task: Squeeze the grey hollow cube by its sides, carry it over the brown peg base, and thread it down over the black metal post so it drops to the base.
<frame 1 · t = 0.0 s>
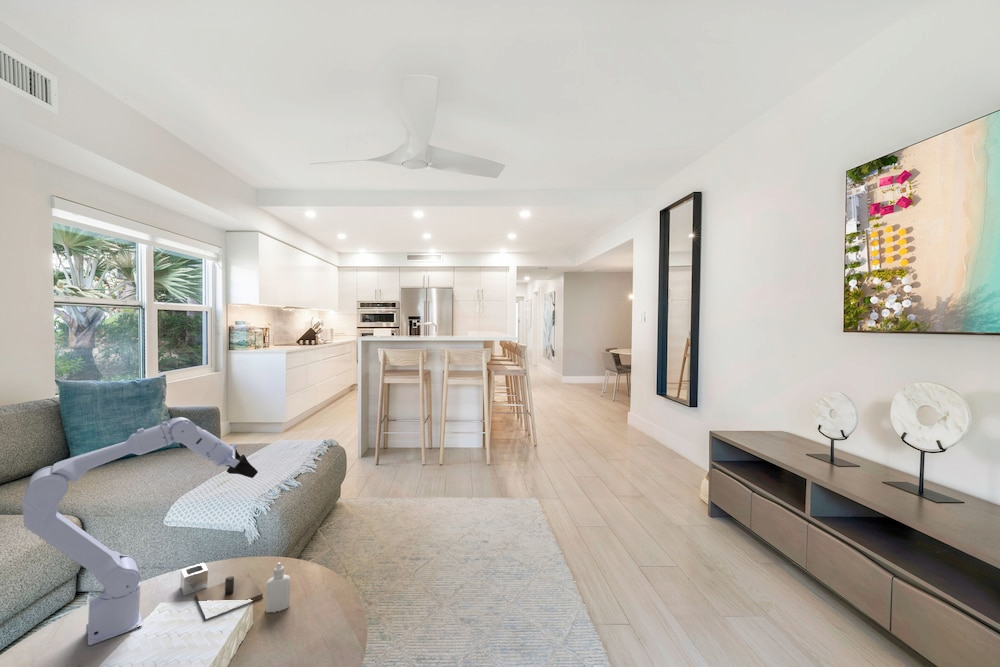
hand: (251, 471, 121), 32 cm above the table, tool tilted 50°, fingers open, 7 cm apart
eye dropper bottle: (277, 609, 109), on the table
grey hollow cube: (193, 587, 117), on the table
brown peg base: (229, 597, 113), on the table
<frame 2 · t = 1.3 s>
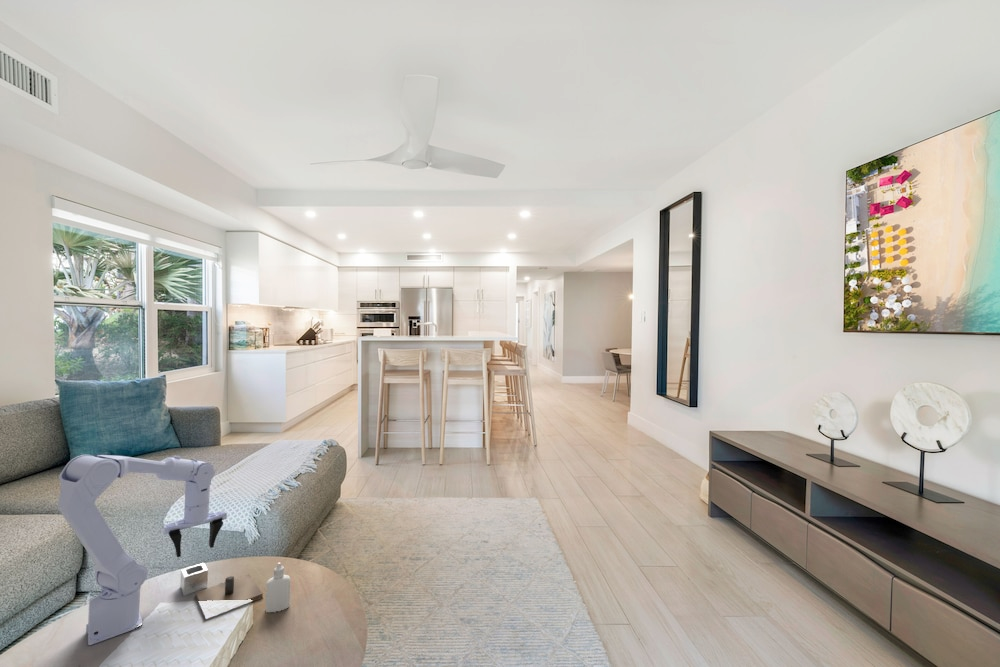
hand: (195, 551, 118), 10 cm above the table, tool pointing down, fingers open, 7 cm apart
nothing on the table moved.
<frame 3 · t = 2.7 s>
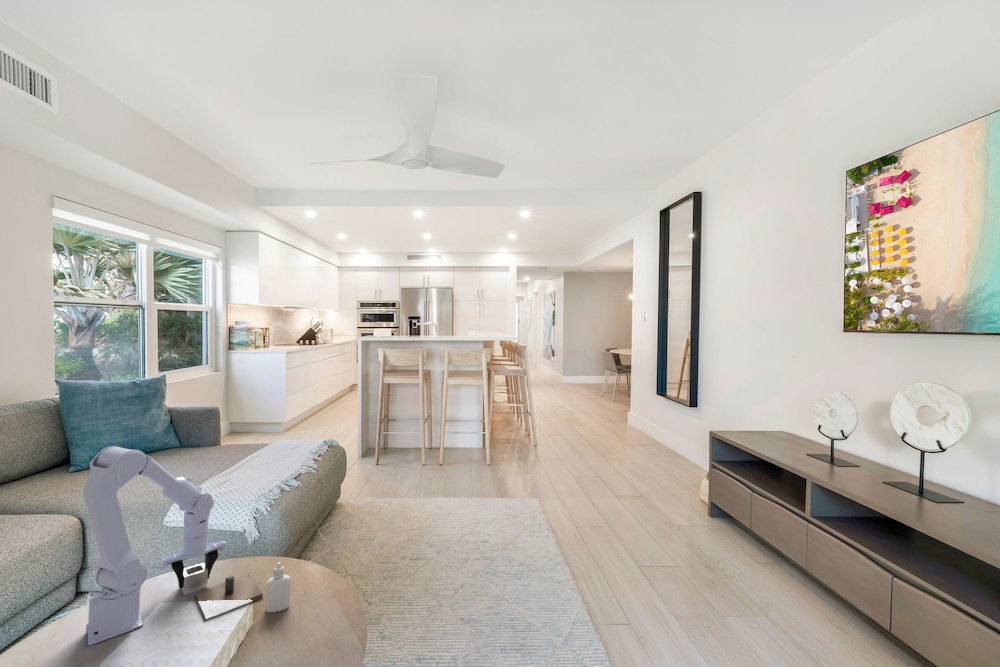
hand: (194, 582, 117), 1 cm above the table, tool pointing down, fingers closed on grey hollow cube, 5 cm apart
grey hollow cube: (193, 587, 117), on the table, touching gripper
everything else where it was.
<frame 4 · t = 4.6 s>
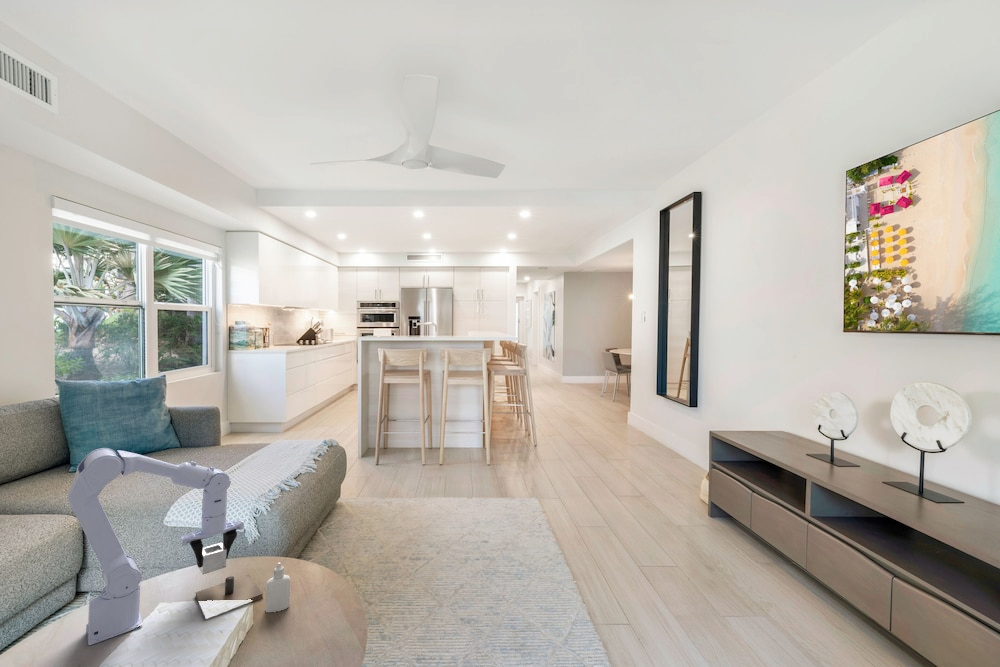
hand: (212, 561, 116), 8 cm above the table, tool pointing down, fingers closed on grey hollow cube, 5 cm apart
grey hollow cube: (212, 566, 116), point 7 cm above the table, touching gripper
everything else where it was.
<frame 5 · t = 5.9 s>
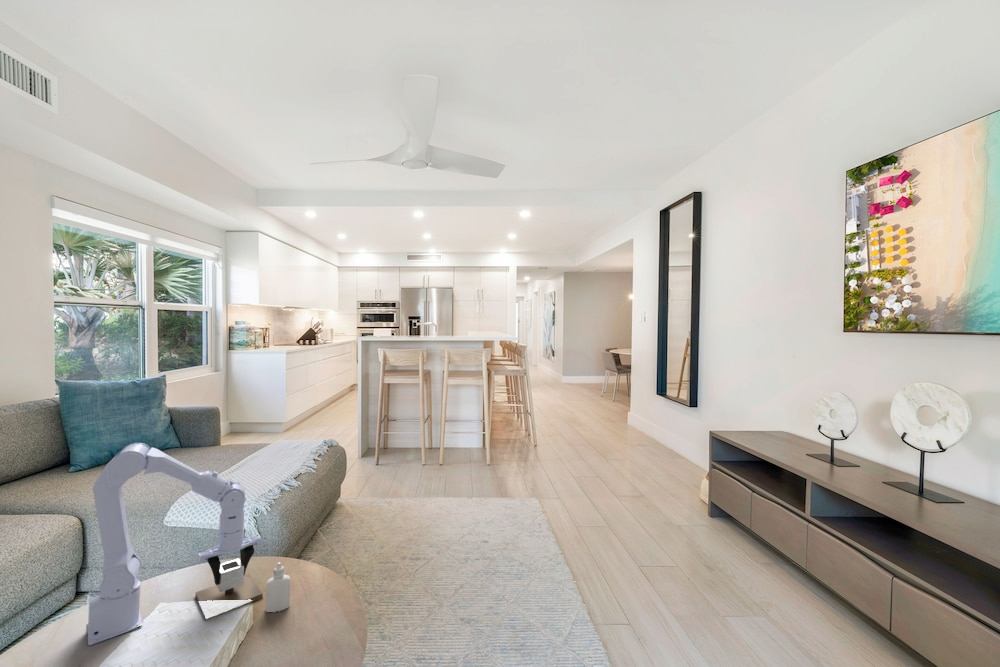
hand: (229, 578, 113), 5 cm above the table, tool pointing down, fingers closed on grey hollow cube, 5 cm apart
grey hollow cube: (229, 583, 114), point 4 cm above the table, touching gripper
everything else where it was.
when the fingers open (4 cm above the table, at t = 6.7 s): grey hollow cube drops 1 cm, resting on brown peg base.
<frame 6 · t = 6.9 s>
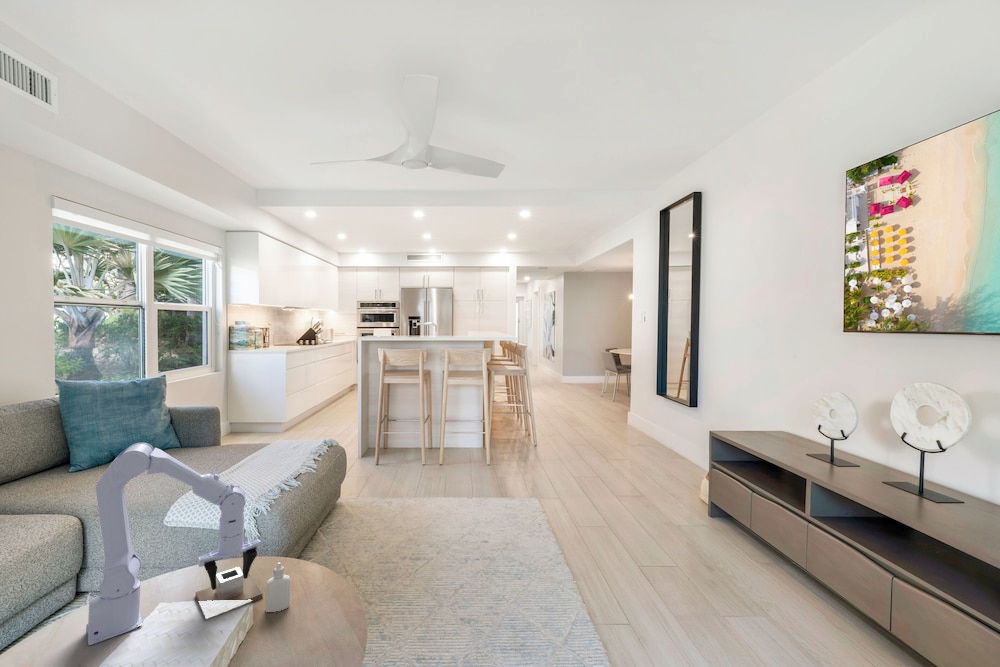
hand: (229, 582, 113), 4 cm above the table, tool pointing down, fingers open, 7 cm apart
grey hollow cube: (229, 592, 113), point 1 cm above the table, touching brown peg base
everything else where it was.
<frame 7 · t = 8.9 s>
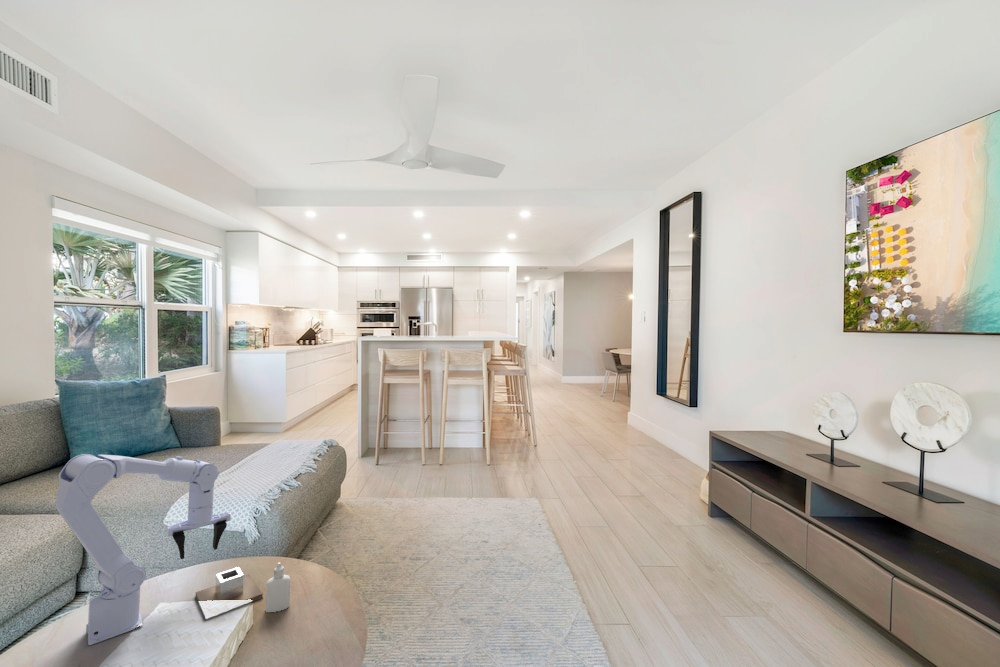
hand: (198, 552, 117), 10 cm above the table, tool pointing down, fingers open, 7 cm apart
nothing on the table moved.
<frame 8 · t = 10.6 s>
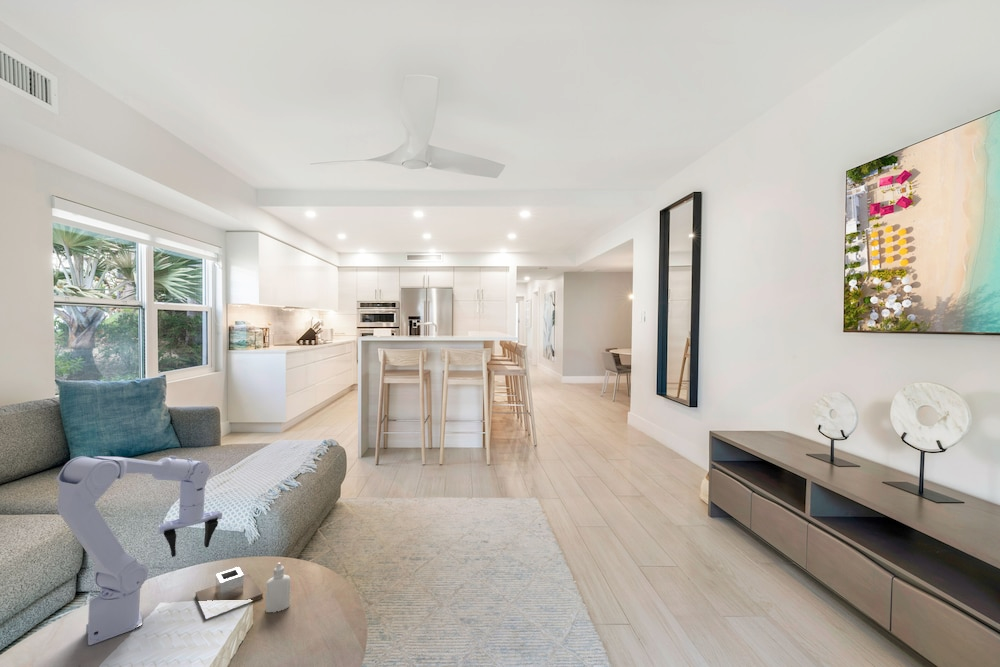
hand: (190, 550, 118), 10 cm above the table, tool pointing down, fingers open, 7 cm apart
nothing on the table moved.
at the end: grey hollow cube 0.1 cm off-centre on the brown peg base, point 1.2 cm above the brown peg base's base; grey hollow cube tilted 0°; the gripper is holding nothing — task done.
